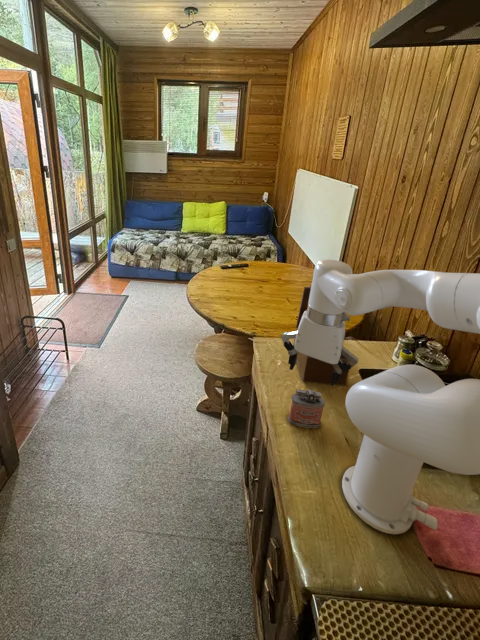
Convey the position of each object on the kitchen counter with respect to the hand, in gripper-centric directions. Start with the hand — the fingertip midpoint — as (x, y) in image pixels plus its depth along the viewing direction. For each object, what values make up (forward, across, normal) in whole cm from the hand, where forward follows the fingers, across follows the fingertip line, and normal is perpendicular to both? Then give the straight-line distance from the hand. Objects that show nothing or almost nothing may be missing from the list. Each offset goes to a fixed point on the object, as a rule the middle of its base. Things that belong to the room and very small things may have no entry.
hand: (312, 374), depth 75 cm
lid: (-2, +5, -30) cm, 31 cm away
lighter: (+15, 0, 0) cm, 15 cm away
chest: (+15, +2, -25) cm, 29 cm away
